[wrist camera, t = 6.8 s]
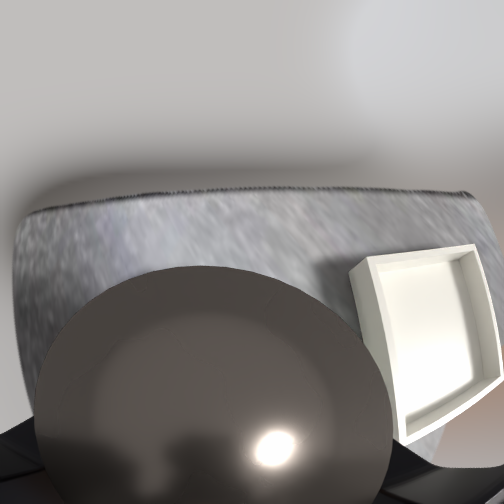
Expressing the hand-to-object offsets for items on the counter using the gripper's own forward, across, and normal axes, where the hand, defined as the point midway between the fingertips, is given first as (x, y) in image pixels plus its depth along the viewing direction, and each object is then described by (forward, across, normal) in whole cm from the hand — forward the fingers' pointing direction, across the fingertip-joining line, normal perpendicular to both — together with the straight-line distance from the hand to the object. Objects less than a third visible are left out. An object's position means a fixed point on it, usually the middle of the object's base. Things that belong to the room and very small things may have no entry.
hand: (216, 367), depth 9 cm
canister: (+4, 0, +6) cm, 7 cm away
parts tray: (+7, -17, +5) cm, 19 cm away
